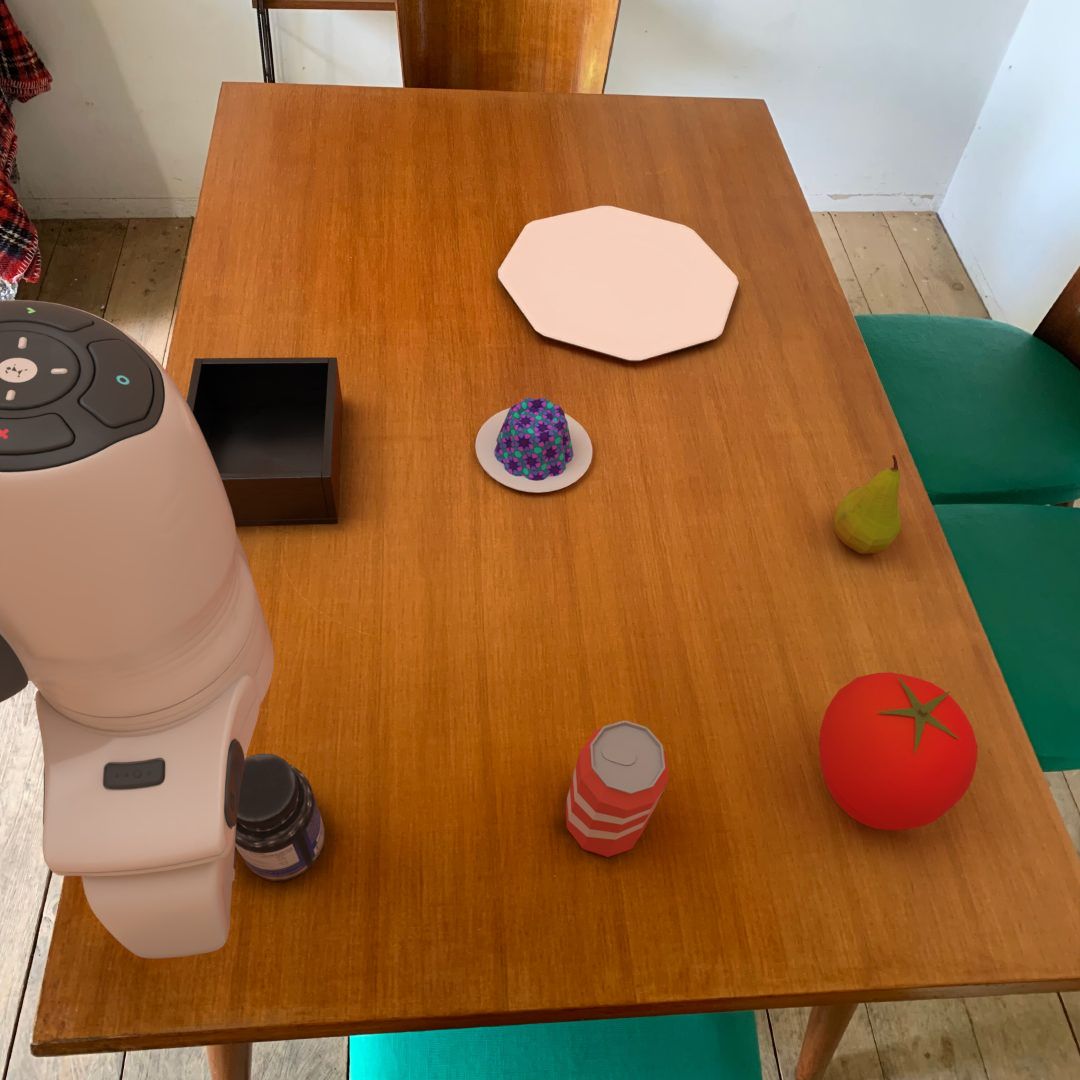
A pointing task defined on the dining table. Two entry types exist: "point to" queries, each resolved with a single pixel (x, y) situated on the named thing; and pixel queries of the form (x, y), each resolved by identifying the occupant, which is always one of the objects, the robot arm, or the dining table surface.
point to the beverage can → (615, 787)
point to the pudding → (534, 447)
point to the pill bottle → (277, 819)
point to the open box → (273, 435)
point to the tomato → (896, 751)
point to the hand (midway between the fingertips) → (225, 781)
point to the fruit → (870, 513)
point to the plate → (618, 283)
